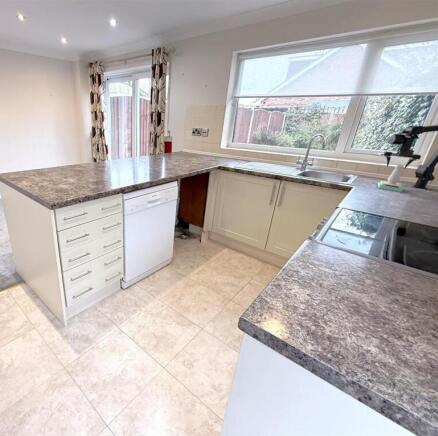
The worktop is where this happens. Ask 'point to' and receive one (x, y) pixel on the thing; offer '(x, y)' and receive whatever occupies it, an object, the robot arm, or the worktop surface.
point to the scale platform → (390, 184)
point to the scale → (390, 187)
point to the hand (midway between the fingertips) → (395, 167)
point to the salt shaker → (395, 174)
